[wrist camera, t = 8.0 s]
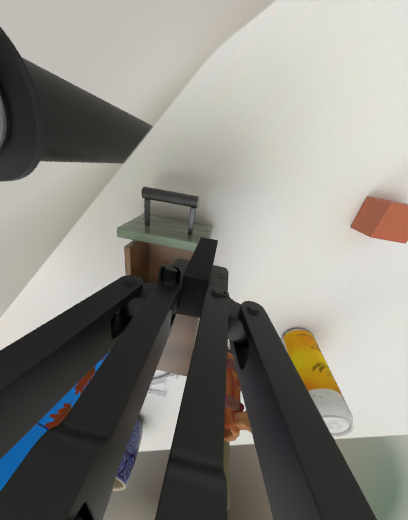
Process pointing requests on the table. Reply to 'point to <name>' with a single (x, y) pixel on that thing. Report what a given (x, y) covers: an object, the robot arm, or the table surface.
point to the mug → (234, 404)
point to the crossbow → (162, 380)
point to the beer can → (318, 381)
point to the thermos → (43, 427)
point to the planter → (128, 458)
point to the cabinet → (179, 345)
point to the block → (383, 220)
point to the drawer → (160, 236)
